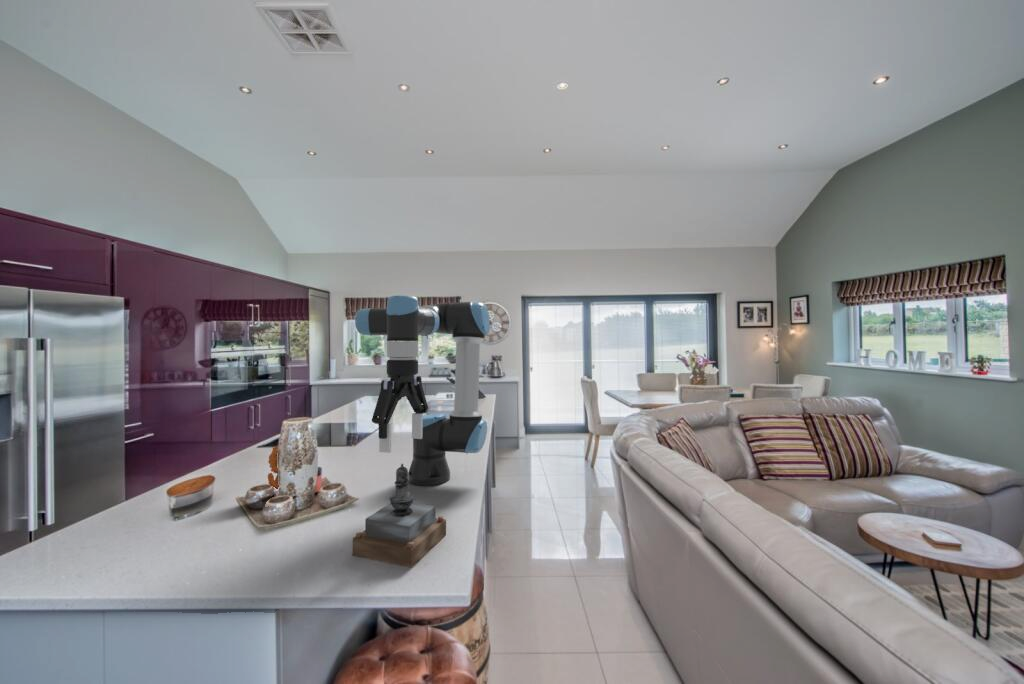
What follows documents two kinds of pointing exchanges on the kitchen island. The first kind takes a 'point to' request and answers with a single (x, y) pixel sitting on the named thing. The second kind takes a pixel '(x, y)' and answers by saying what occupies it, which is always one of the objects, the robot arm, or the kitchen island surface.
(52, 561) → the kitchen island surface
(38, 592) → the kitchen island surface
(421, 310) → the robot arm
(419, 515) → the sharpening stone holder
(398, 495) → the dark grey tall piece
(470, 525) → the kitchen island surface
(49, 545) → the kitchen island surface
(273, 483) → the toy dinosaur
